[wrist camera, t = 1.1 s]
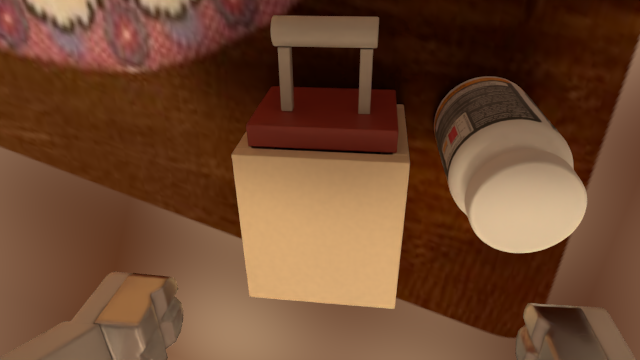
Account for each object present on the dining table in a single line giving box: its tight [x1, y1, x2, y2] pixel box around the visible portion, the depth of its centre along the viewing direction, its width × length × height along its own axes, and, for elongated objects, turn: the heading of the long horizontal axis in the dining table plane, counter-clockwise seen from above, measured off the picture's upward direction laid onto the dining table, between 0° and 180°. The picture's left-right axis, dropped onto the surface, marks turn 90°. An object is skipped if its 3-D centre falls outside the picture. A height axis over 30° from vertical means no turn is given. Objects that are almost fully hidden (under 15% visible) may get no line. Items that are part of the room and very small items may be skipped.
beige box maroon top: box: [232, 104, 410, 309], centre depth 27 cm, size 10×9×8 cm
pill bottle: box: [434, 76, 587, 253], centre depth 23 cm, size 6×6×10 cm
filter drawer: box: [246, 15, 399, 154], centre depth 25 cm, size 13×7×6 cm, turn 1°
